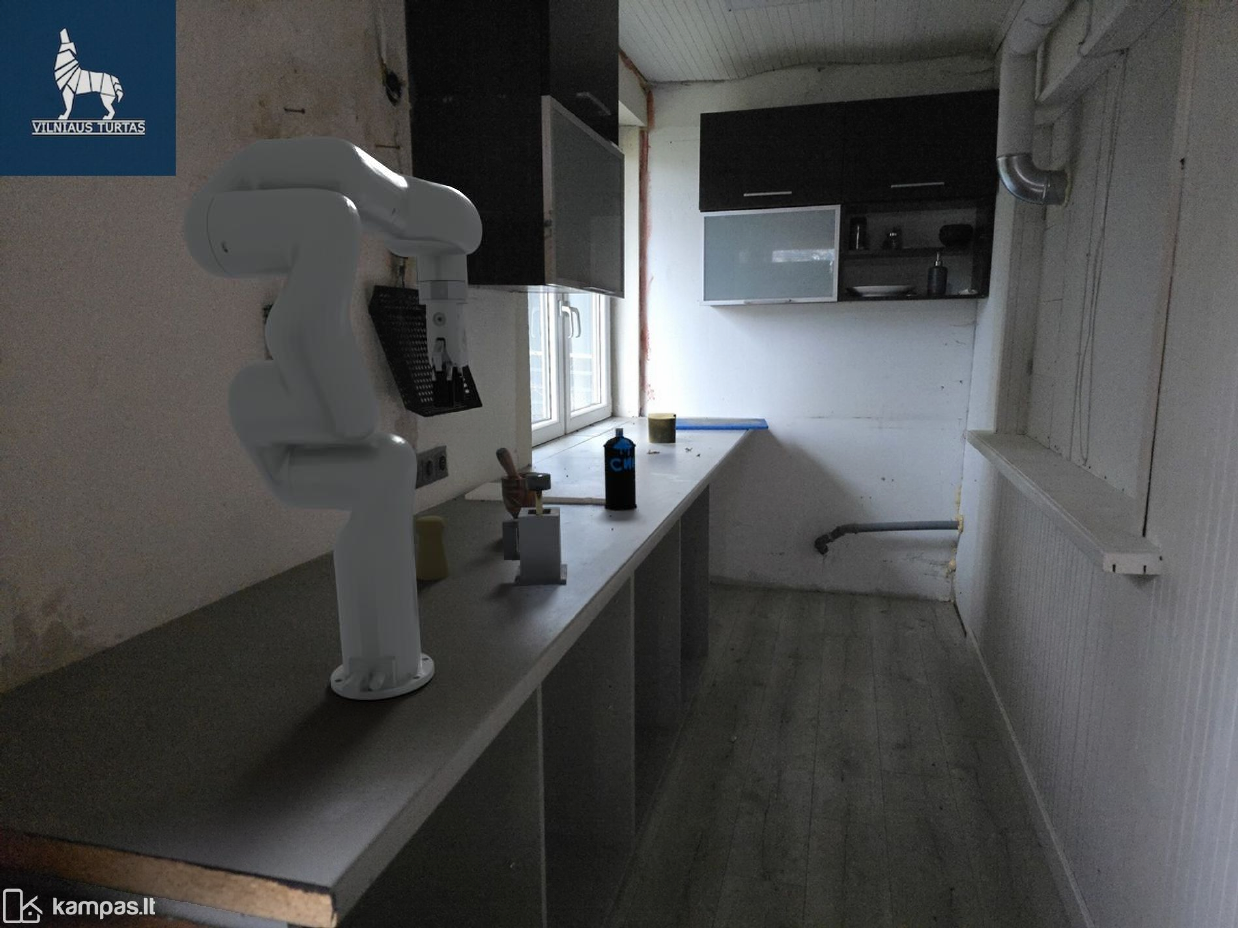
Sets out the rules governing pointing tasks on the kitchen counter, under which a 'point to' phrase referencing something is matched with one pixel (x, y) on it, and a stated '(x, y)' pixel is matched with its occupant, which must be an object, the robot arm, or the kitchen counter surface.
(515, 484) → the mortar and pestle
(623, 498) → the aerosol can
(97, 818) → the kitchen counter surface
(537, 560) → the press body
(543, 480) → the plunger
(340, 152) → the robot arm
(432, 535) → the cork
